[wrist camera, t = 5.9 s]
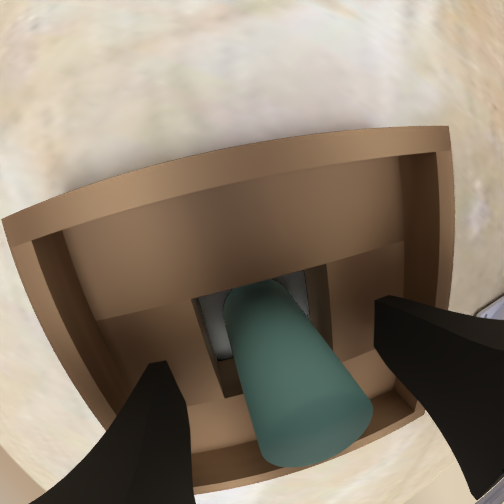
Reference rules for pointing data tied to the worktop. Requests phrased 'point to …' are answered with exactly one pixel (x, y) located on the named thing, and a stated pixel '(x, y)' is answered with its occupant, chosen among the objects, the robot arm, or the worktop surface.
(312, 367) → the peg
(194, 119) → the worktop surface
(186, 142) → the worktop surface
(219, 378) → the peg box
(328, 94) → the worktop surface
